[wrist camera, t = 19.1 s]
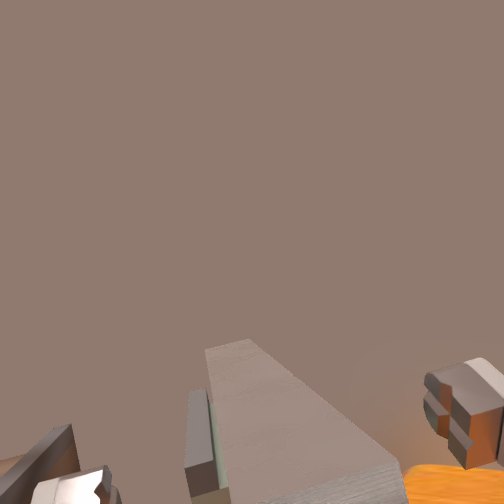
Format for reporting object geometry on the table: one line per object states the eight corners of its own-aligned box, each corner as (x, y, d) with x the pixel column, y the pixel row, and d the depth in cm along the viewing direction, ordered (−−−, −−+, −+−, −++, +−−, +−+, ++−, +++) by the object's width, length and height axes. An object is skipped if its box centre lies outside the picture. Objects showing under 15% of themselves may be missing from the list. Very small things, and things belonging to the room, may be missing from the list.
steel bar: (441, 634, 8) (397, 459, 8) (274, 697, 7) (232, 510, 7) (258, 383, 29) (248, 338, 30) (214, 395, 29) (204, 349, 29)
